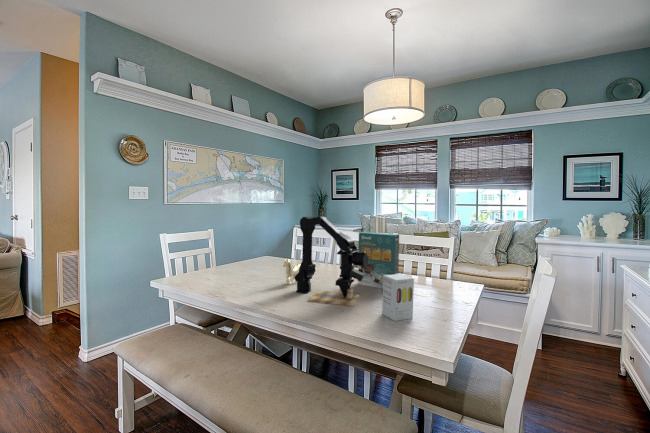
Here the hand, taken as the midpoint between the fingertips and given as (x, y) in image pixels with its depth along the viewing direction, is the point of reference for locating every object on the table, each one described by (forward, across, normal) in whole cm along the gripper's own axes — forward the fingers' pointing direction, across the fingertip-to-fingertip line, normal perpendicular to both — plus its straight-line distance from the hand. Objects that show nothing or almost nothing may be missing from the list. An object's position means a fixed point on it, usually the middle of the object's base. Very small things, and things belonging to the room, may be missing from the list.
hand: (346, 296), depth 149 cm
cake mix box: (+2, +31, -11) cm, 33 cm away
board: (+2, 0, +6) cm, 6 cm away
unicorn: (+2, +18, +36) cm, 40 cm away
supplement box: (+2, -13, -25) cm, 28 cm away
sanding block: (+1, 0, 0) cm, 1 cm away
